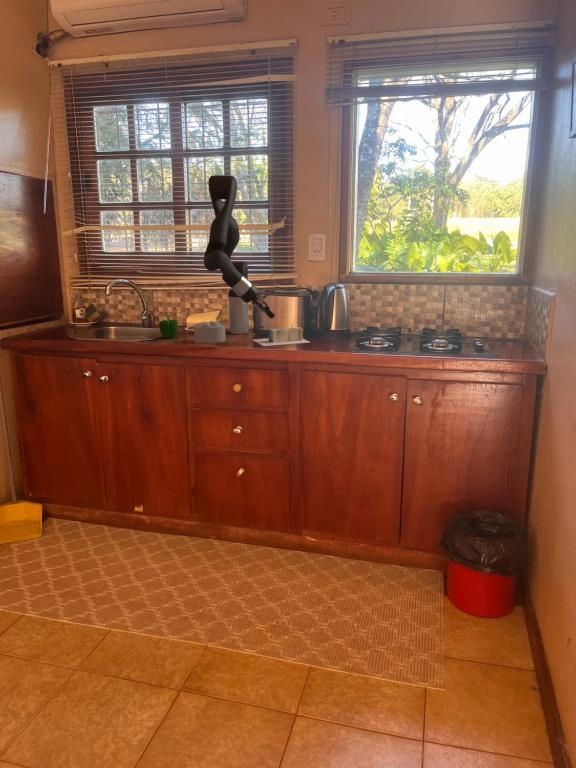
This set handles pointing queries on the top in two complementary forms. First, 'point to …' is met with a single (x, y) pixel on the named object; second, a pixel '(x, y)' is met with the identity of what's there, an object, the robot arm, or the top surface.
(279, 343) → the grey mat
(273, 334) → the maple block
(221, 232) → the robot arm
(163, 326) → the bell pepper
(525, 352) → the top surface
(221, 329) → the lumpy-topped squat cylinder
